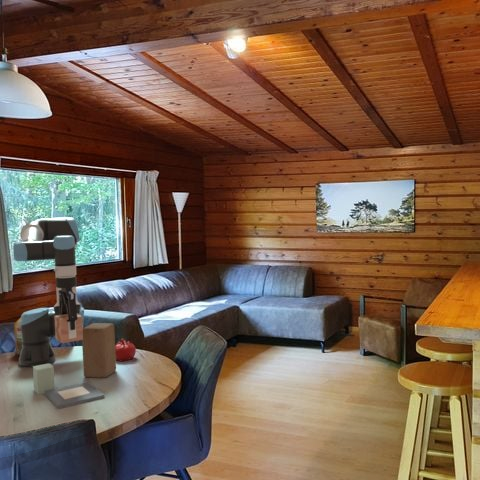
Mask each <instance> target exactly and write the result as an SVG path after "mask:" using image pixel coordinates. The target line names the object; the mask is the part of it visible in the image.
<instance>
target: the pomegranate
mask: <svg viewBox="0 0 480 480" xmlns="http://www.w3.org/2000/svg"><path fill="white" fill-rule="evenodd" d="M120 340H121V342H120V341H118V342H117V343H116V344H115V355H116V361H118V362H125V361H129V360H132V359H133V358H135V355H136V352H137V348H136V346H135V345H134V343H132V342H131V341H129V340H128V341H127V342H126V340H125V339H124V338H121V339H120Z"/></svg>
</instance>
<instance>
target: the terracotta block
mask: <svg viewBox="0 0 480 480" xmlns="http://www.w3.org/2000/svg"><path fill="white" fill-rule="evenodd" d="M54 317H55V336H56V337H55V340H56V341H58V342H59V343H61V344H65V343H70V342H72V343H73V342H77V341H82V340H83V328H84V327H83V328H82V316H81V315H79V314H77V318H78V319H77V320H76V338H72V339H69V336H68V322H67V320H69V319H68V314H64V315H56V316H54Z"/></svg>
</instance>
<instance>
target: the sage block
mask: <svg viewBox="0 0 480 480" xmlns="http://www.w3.org/2000/svg"><path fill="white" fill-rule="evenodd" d="M54 367H55V366H54V365H52V364H51V363H48V364H43V365H38V366H32V372H33V373H32V375H33V391H34V392H35V393H36V395H44V394H45V393H44V391H48V390H52V389H56V383H55V381H56V380H55V368H54Z"/></svg>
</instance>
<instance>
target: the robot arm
mask: <svg viewBox="0 0 480 480" xmlns="http://www.w3.org/2000/svg"><path fill="white" fill-rule="evenodd" d="M19 235H20V239H21V240H20V241H17V242H16V241H15V242H14V243H13V244H12V246H13V247H12V249H13V252H12V253H13V254H12V255H13V258H14V259H13V260H14V261H16V262H31V261H32V262H34V261H48V260H49V261H50V260H54V269H53V271H54V272H55V289H56V290H55V292H56V302H55V305H53V310H50V309H49V307H38V308H35V309H30V310H28V311H24V312H25V313H24V312H23V313H22V314H21V316H20V318H21V329H22V350H21V353H20V355H19V358H18V365H19V366H20V367H21V366H22V367H26V368H27V367H32V368H33V366H38V365H43V364H48V363H50V364H51V363H54V362H55V361H56V353H55V351H54V348H53V346H52V343H51V338H56V336H55V317H54V316H56V315H64V314H68V319H69V320H67V322H68V336H69V339H72V338H76V320H77V319H78V318H77V314H79V315H81V316H82V328H84V322H85V321H84V319H85V318H84V317H85V308H84V307H82V305H81V304H82V303H80V302H79V301H78V296H77V285H78V283H77V281H78V280H77V276H76V275H77V264H76V248H77V246H78V243H79V242H81V239H80V237H81V236H80V232H79V226H78V223H77V220H76V219H75V218H74V217H65V216H64V217H51V218H50V217H49V218H48V217H47V218H44V217H42V218H37V219H34V220H31V221H29V222H28V223H26V224H24V225H23V227H22V228H21V229H20V233H19Z"/></svg>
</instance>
